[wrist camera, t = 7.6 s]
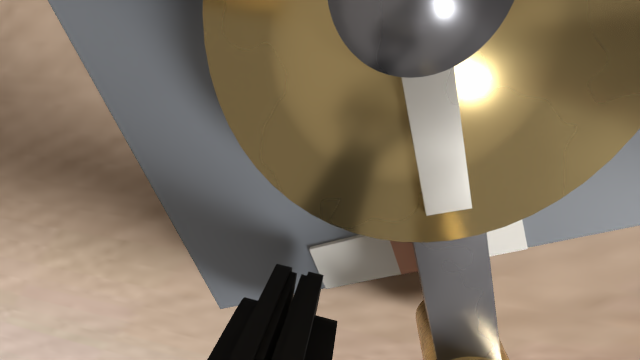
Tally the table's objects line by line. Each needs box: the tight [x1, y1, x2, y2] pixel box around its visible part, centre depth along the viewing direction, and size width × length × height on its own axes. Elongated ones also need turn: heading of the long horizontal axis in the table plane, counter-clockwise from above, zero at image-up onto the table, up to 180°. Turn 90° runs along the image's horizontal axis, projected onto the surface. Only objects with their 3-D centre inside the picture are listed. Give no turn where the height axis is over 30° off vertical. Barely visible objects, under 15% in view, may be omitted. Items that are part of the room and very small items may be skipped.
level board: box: [48, 0, 640, 309], centre depth 9 cm, size 20×16×1 cm
